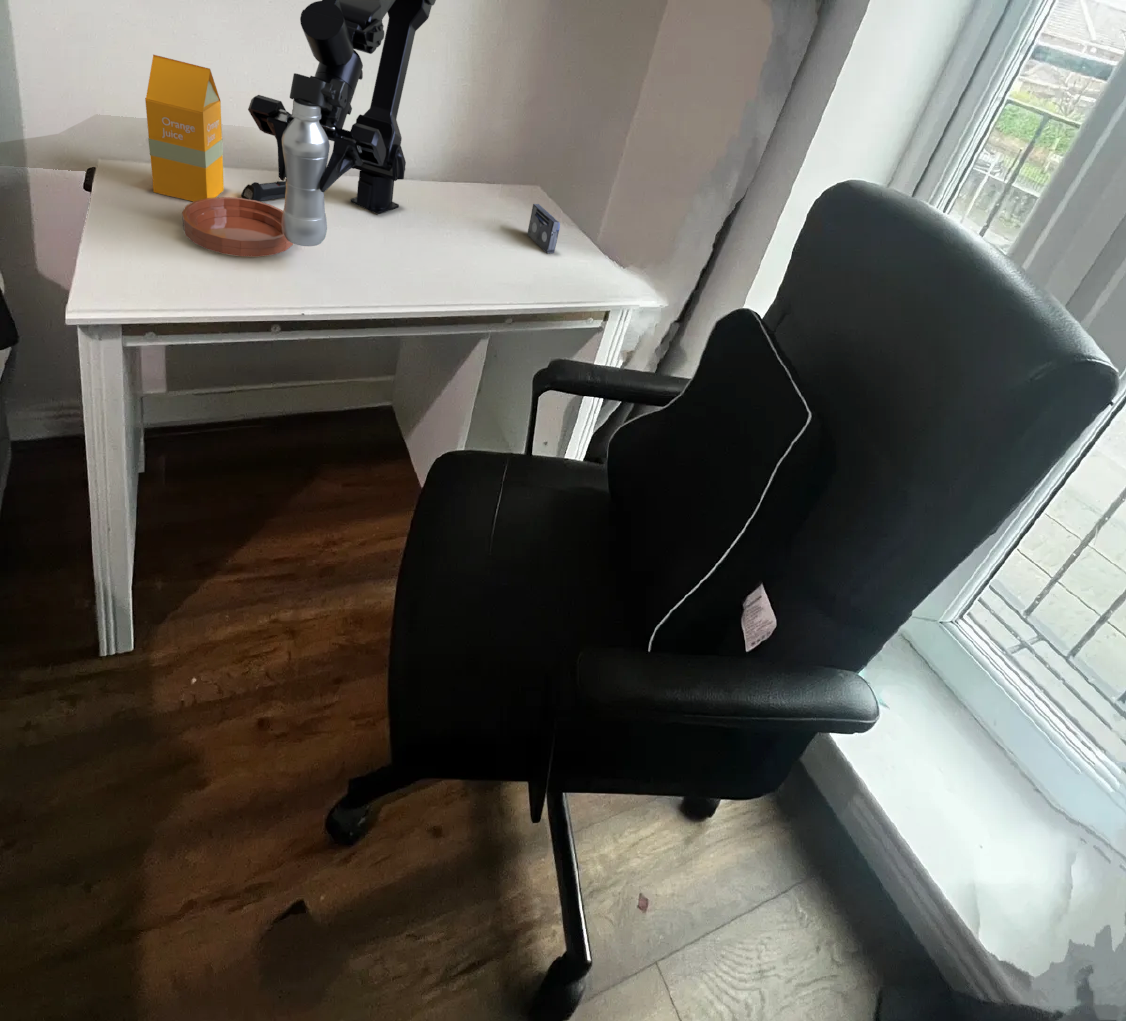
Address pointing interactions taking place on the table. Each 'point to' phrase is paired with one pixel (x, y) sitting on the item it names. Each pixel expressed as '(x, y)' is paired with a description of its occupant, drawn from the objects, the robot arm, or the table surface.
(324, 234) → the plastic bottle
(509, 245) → the table surface
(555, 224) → the mini dv tape
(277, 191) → the electric trimmer
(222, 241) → the bowl
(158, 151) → the orange juice
